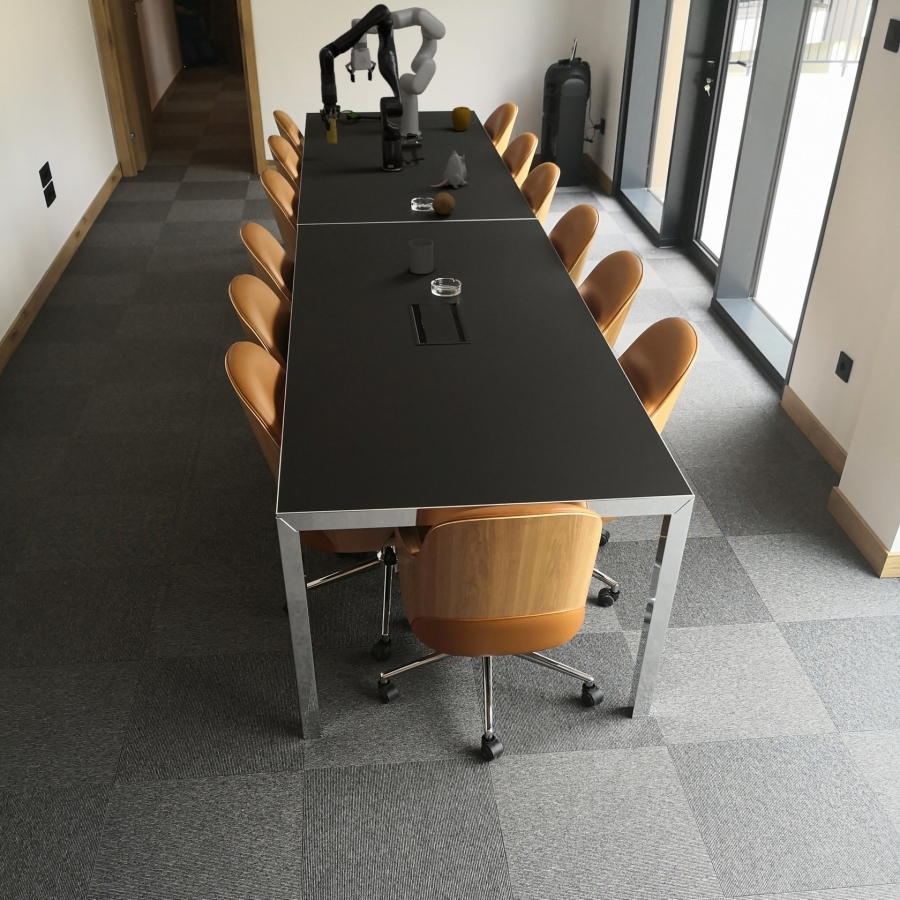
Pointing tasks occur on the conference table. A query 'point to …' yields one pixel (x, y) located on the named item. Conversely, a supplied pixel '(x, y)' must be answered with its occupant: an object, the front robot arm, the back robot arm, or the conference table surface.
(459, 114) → the yellow rounded blob
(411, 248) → the cup
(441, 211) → the potato
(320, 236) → the conference table surface
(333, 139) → the can
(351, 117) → the scepter
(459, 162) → the toy
